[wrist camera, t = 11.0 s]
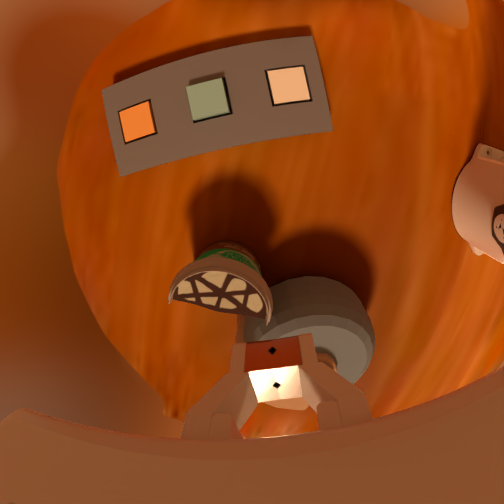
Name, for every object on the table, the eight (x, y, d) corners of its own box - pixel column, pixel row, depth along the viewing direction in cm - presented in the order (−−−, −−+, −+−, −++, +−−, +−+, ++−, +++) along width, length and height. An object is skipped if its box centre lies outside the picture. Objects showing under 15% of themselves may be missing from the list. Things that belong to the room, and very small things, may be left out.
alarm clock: (213, 312, 43) (199, 369, 32) (329, 245, 38) (354, 291, 27) (278, 380, 49) (281, 433, 38) (377, 331, 44) (400, 382, 33)
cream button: (300, 70, 28) (302, 66, 26) (307, 100, 29) (309, 99, 27) (267, 74, 28) (267, 71, 26) (273, 105, 30) (274, 103, 28)
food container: (281, 243, 38) (287, 280, 29) (269, 282, 40) (271, 326, 31) (190, 223, 37) (168, 253, 28) (184, 263, 39) (164, 302, 30)
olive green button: (223, 81, 28) (221, 77, 26) (230, 112, 29) (228, 111, 27) (190, 89, 28) (185, 87, 26) (196, 120, 30) (192, 120, 28)
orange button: (153, 102, 29) (148, 101, 28) (160, 132, 31) (154, 132, 29) (125, 112, 30) (119, 112, 28) (132, 141, 31) (125, 142, 30)
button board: (308, 43, 27) (312, 35, 24) (327, 131, 32) (333, 130, 29) (112, 92, 30) (101, 89, 27) (130, 173, 34) (120, 176, 32)
